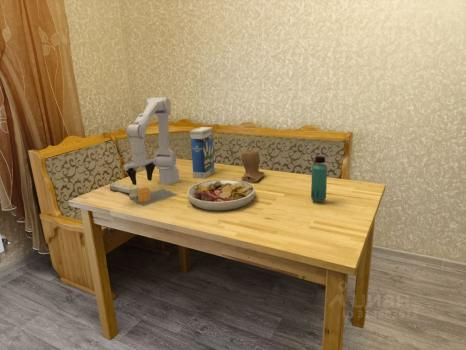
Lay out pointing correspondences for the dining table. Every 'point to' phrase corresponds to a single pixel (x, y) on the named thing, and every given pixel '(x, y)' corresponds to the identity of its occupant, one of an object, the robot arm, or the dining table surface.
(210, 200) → the bowl
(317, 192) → the beverage bottle
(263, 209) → the dining table surface
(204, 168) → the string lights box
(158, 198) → the charcoal board
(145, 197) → the orange cap
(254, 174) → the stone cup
